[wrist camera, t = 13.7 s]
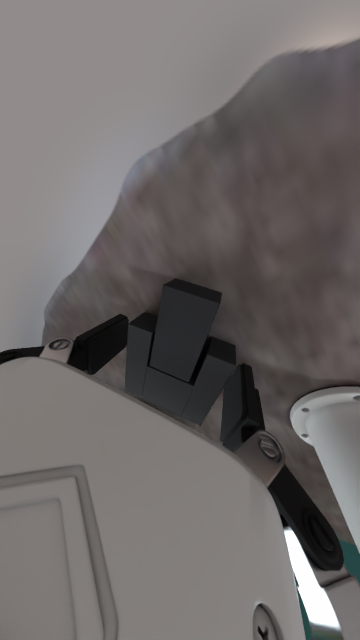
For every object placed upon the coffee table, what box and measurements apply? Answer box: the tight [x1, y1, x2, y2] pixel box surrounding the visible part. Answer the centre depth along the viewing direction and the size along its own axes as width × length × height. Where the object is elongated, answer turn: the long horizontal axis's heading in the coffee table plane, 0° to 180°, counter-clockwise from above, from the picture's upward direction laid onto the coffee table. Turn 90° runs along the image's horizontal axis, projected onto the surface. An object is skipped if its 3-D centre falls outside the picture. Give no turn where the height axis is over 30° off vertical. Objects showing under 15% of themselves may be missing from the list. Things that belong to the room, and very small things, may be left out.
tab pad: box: [150, 279, 222, 382], centre depth 19 cm, size 12×6×4 cm, turn 167°
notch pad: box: [125, 312, 236, 426], centre depth 22 cm, size 14×14×4 cm
